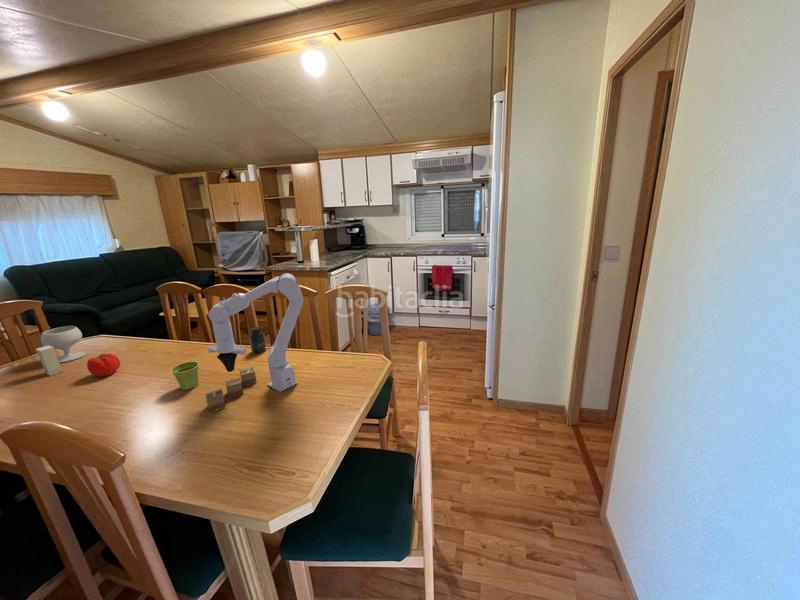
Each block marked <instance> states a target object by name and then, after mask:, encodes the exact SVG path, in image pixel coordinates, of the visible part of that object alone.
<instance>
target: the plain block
mask: <svg viewBox="0 0 800 600" xmlns="http://www.w3.org/2000/svg"><path fill="white" fill-rule="evenodd" d="M224 383H225V388H226V393H227V396H228V397H227V398H228V399H231V398H230V397H233V398H235V397H234V396H236V397H238V396H237V395H239V396H242V395H241V394H243V395H244V391H243V389H244V388H243V384H242V381H241V376H240V377H236V378H231V379H227V380H225V381H224Z"/></svg>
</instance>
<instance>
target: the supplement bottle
mask: <svg viewBox="0 0 800 600" xmlns="http://www.w3.org/2000/svg"><path fill="white" fill-rule="evenodd" d="M262 331H263V330H262V327H260V326H255V327H251V328H250V331H249V332H250V334H249V336H248V338H249V344H250V349H251V350H250V351H251V353H252V354H254V353H255V355H257V354H256V353H259V354H262V353H261V352H263V353H265V352H266V351H267V345H266V338H265V336H266V335H265V333H264V332H262ZM265 347H266V348H265ZM264 351H265V352H264Z"/></svg>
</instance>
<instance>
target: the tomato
mask: <svg viewBox="0 0 800 600" xmlns="http://www.w3.org/2000/svg"><path fill="white" fill-rule="evenodd" d="M120 365H121V360H120V358H119V357H118V356H117V355H115V354H113V353H101V354H99V355H95V357H91V358H89V359H88V361H87V363H86V367H87V370H88V371H89V373H90V374H91V375H93V376H96V377H105V376H110V375H112V374H113V373H114V372H116V371H117V370H118V369H119V368H120V367H121V366H120Z"/></svg>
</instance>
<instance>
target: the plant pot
mask: <svg viewBox="0 0 800 600" xmlns="http://www.w3.org/2000/svg"><path fill="white" fill-rule="evenodd" d="M199 366H200V362H198V361H197V360H196V361H195V360H193V361H192V360H191V361H185V362H181V363H180V364H176V365H175V366H173V367H172V368H171V369H170V373H172V375H173V376H174V377H175V379H176V381H177V384H178V386H179V389H180V390H182V391H188V390H189V389H194V388H196V387H198V386H199V384H200V383H199Z"/></svg>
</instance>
